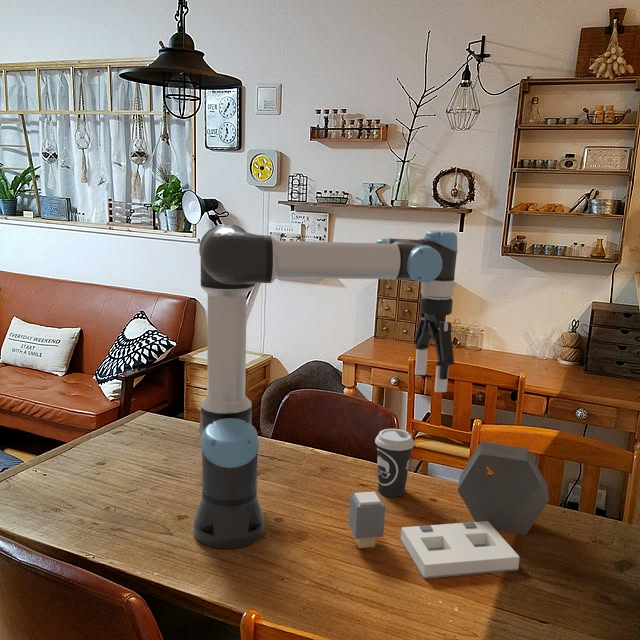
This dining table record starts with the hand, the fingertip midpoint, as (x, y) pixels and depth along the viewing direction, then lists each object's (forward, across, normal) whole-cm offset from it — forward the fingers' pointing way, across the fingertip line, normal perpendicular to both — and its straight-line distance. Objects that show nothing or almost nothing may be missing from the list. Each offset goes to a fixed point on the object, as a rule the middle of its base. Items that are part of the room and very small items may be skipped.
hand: (430, 382), depth 156 cm
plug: (+28, -22, +21) cm, 42 cm away
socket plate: (+28, -29, +3) cm, 41 cm away
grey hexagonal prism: (+28, -18, -12) cm, 36 cm away
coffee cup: (+28, 0, +8) cm, 29 cm away
